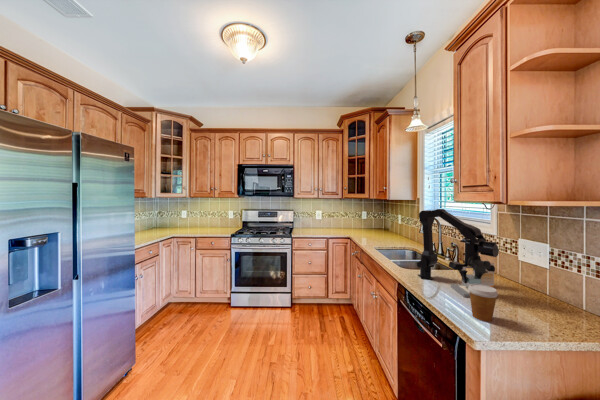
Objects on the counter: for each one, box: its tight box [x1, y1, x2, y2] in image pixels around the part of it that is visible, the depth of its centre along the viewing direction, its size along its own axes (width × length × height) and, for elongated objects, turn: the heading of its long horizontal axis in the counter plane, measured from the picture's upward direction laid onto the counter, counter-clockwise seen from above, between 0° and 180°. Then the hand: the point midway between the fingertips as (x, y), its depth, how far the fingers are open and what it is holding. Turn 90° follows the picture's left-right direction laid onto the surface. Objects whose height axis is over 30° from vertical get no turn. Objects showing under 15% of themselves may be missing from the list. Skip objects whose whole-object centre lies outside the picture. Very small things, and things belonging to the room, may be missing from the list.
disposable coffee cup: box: [468, 284, 499, 322], centre depth 95 cm, size 10×10×12 cm
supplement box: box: [472, 260, 495, 288], centre depth 129 cm, size 8×5×13 cm, turn 84°
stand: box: [450, 283, 470, 298], centre depth 120 cm, size 13×13×2 cm
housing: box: [461, 273, 481, 288], centre depth 120 cm, size 5×7×5 cm
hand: (470, 283), depth 120 cm, fingers closed on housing, 5 cm apart
